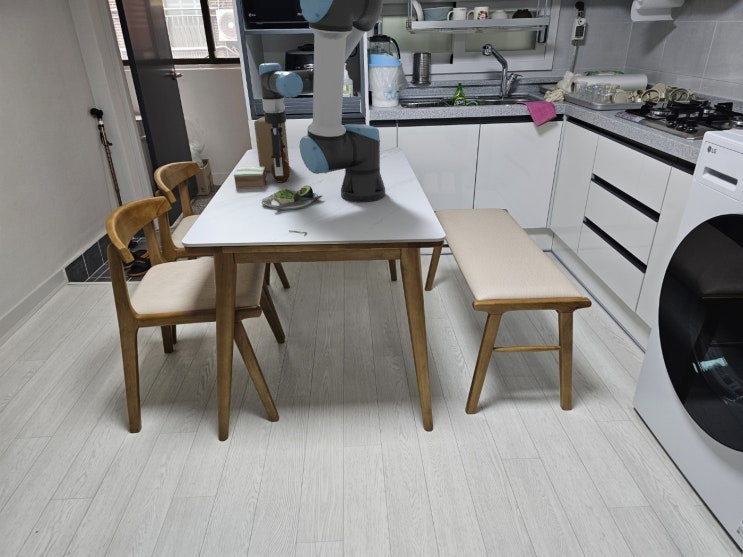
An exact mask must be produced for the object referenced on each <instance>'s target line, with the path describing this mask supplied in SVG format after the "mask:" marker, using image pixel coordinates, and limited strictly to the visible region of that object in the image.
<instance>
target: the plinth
mask: <svg viewBox="0 0 743 557" xmlns="http://www.w3.org/2000/svg"><path fill="white" fill-rule="evenodd" d="M233 177H234V184H235V189H251V188H252V189H253V188H256V189H257V188H265V186H266V182H267V172H266V170H265V167H260V166H249V167H248V166H247V167H245V166H244V167H238V168H237V169H236V170H235V173H234V174H233Z"/></svg>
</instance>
